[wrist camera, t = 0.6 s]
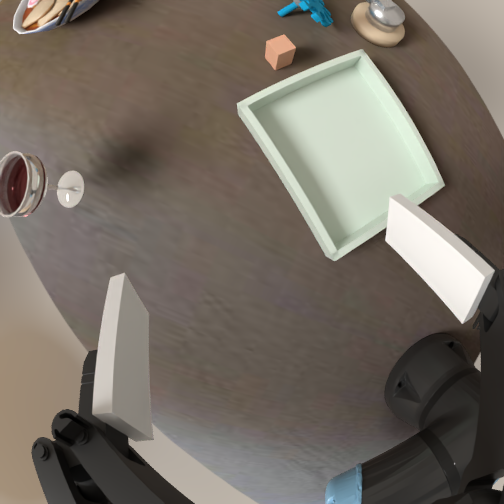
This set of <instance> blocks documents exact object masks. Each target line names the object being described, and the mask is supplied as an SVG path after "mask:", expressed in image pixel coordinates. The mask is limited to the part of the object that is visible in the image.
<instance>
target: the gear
mask: <svg viewBox="0 0 504 504" xmlns="http://www.w3.org/2000/svg"><path fill="white" fill-rule="evenodd" d="M293 1H294V2H293V3H291V4H290V5H288V6H286V7H285V8H283V9H282V10H280V11H278V14H279V15H280V16H281V17H283V16H285V15H286V14H288V13H290V12H291V11H293V10H295V9H296V8H298V7H299V8H302V9H303V10H304V11H307V10H308V9H309V10H310V11H311V12H312V13H313V14H312V15H311V17H312V18H313V19H314V20H315V21H316V22H319V21H320V22H321V24H322V25H323V26H325V27H327V26H329V25H331V23H333V20H332V19H331V18H330V17H329V16H331V14H330V12H329V11H328V10H327V9H326V8H325V7H324V5H325V4H324V2H323V1H322V0H293Z"/></svg>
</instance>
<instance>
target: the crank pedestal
mask: <svg viewBox="0 0 504 504" xmlns="http://www.w3.org/2000/svg"><path fill="white" fill-rule="evenodd" d="M369 5H370V4H369V3H368V2H363V3H360V4H358V5H357V6H356V8H355V9H354V11H353V13H352V15H351V23H352V26H353V28H354V29H355V30H356V32H357V33H358V34H359V35H360V36H361V37H363V38H364V39H365V40H367V41H368V42H370V43H372V44H374V45H377V46H380V47H386V48H389V47H393V46H395V45H397V44H398V43H399V41H400V40H401V39H402V38H403V37H404V35H405V29H404V26H403V24H402V23H401V24H400V26H399V27H398V28H397V29H396V30H395V31H394V32H391V33H387V32H383V31H380V30H378V29H377V28H375V27H374V26H372V25H371V24H370V23H369V22H368V20H367V19H366V17H365V12H366V10H367V8H368V7H369Z"/></svg>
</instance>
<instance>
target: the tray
mask: <svg viewBox="0 0 504 504" xmlns="http://www.w3.org/2000/svg"><path fill="white" fill-rule="evenodd" d="M237 108H238V115H239V116H240V118H241V119H242V121H243V122H244V124H245V125H246V126H247V128H248V129H249V131H250V132H251V134H252V135H253V137H254V138H255V140H256V141H257V143H258V144H259V146H260V148H261V149H262V151H263V152H264V154H265V155H266V157H267V158H268V160H269V161H270V163H271V165H272V166H273V168H274V169H275V171H276V172H277V174H278V176H279V177H280V179H281V180H282V182H283V184H284V185H285V187H286V189H287V190H288V192H289V193H290V195H291V197H292V198H293V200H294V202H295V203H296V205H297V207H298V208H299V210H300V212H301V213H302V215H303V217H304V219H305V220H306V222H307V224H308V225H309V227H310V229H311V231H312V232H313V234H314V236H315V238H316V239H317V241H318V243H319V245H320V246H321V248H322V250H323V252H324V253H325V255H326V257H328V258H330V259H331V260H333V261H336V260H338V259H339V258H341V257H342V256H344V255H345V254H347V253H348V252H350V251H351V250H353V249H355V248H356V247H358V246H359V245H361V244H362V243H364V242H365V241H367V240H368V239H370V238H371V237H373V236H374V235H376V234H377V233H379V232H380V231H382V230H383V229H385V228H386V227H387V221H388V210H389V198H390V196H394V195H397V194H402V195H403V196H405V197H406V198H407V199H409V200H410V201H412V202H413V203H414V204H416V205H419V204H420V203H422V202H423V201H424V200H426V199H427V198H429V197H430V196H431V195H433V194H434V193H435V192H437V191H438V190H440V189H441V188H442V187H444V186H445V184H444V182H443V180H442V177H441V175H440V173H439V171H438V169H437V167H436V164H435V162H434V160H433V158H432V156H431V154H430V152H429V150H428V148H427V147H426V145H425V143H424V141H423V139H422V137H421V135H420V134H419V132H418V130H417V128H416V127H415V125H414V123H413V121H412V120H411V118H410V116H409V115H408V113H407V111H406V110H405V108H404V107H403V105H402V103H401V102H400V100H399V99H398V97H397V96H396V94H395V93H394V91H393V90H392V88H391V87H390V85H389V84H388V82H387V81H386V80H385V78H384V77H383V75H382V74H381V73H380V71H379V70H378V69H377V67H376V66H375V65H374V63H373V62H372V61H371V59H370V58H369V57H368V56H367V54H366V53H365V52H364V51H363V49H361V50H358V51H355V52H352V53H349V54H346V55H344V56H341V57H338V58H335V59H333V60H330V61H327V62H325V63H322V64H320V65H317V66H315V67H312V68H310V69H308V70H305V71H303V72H301V73H298V74H296V75H294V76H292V77H289V78H287V79H285V80H283V81H281V82H279V83H276V84H274V85H272V86H270V87H268V88H266V89H264V90H262V91H260V92H258V93H256V94H254V95H252V96H250V97H248V98H246V99H245V100H243V101H241V102H239V103H237Z"/></svg>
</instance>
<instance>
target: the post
mask: <svg viewBox="0 0 504 504" xmlns="http://www.w3.org/2000/svg"><path fill="white" fill-rule="evenodd" d="M295 50H296V47H295V46H294V45H293V44H292V43H291V42H290V40H289V39H288V38H287V37H286V36H285V35H281V36H279V37H276V38H274V39H271V40H269V41H267V42H266V52H265V58H266V60H267V61H268V62H269V63H270V64H271V66H272V67H273V68H274V69H275V71H276V70H278V69H280V68H282V67H285V66H287V65H289V64H291V63H292V60H293V56H294V53H295Z"/></svg>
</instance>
